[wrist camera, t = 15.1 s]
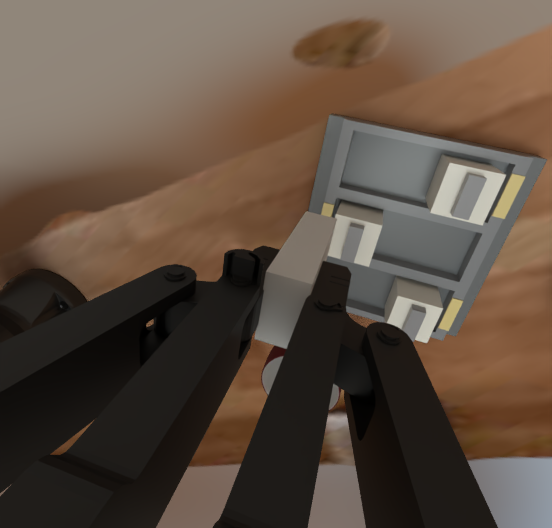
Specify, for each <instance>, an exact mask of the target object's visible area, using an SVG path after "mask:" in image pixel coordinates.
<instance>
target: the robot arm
mask: <svg viewBox="0 0 552 528" xmlns="http://www.w3.org/2000/svg"><path fill="white" fill-rule="evenodd" d="M336 221H337V219H336V218H332V217H328V216H324V215H320V214H316V213H312V212H308V211H306V212H305V214H304V215H303V217H302V218H301V220H300V221H299V223H298V224H297V226H296V227H295V229H294V230H293V232H292V233H291V235H290V236H289V238H288V239H287V241H286V242H285V244H284V245H283V247H282V248H281V250H278V249H275V248H271V247H267V246H261V247H258V248H256V249H254V250H253V251H250V250H244V249H235V250H230V251H228V252H226V253H225V255H224V264H223V274H222V276H221V277H220V279H219V280H218V281H217V282H206V281H196V276H197V275H196V273H195V271H194V270H192V269H191V268H189V267H186V266H183V265H177V264H174V265H166V266H163V267H160V268H158V269H156V270H154V271H152V272H149V273H147V274H145V275H143V276H141V277H139V278H137V279H135V280H133V281H130V282H128V283H126V284H124V285H122V286H120V287H118V288H116V289H114V290H111V291H109V292H107V293H105V294H103V295H101V296H99V297H97V298H94V299H92V300H90V301H88V302H87V301H86V300H85V299H84V297H83V296H82V295H81V294H80V292H79V291H78V290H77V289H76V288H75V287H74V286H73V285H71V284H70V283H69V282H68V281H66V280H65V279H63V278H62V277H60V276H58V275H56V274H54V273H52V272H49V271H46V270H41V269H31V270H28V271H25V272H23V273H21V274H19V275H17V276H15V277H13V278H12V279H10V280H9V281H8V282H7V283H6V284H5V285H4V287H3V289H2V290H1V291H0V493H1V492H2V491H4V490H5V489H6V488H7V487H9V486H10V485H11V484H12V483H13V484H12V485H11V486H10V487H9V488H8V489H7V490H6V491H5V492H4V493H3V494H2V495H1V496H0V528H156V526H157V524H158V523H159V521H160V519H161V517H162V515H163V513H164V511H165V509H166V507H167V505H168V503H169V502H170V500H171V497H172V496H173V494H174V492H175V490H176V488H177V486H178V484H179V482H180V480H181V479H182V477H183V475H184V473H185V471H186V469H187V467H188V465H189V463H190V461H191V460H192V458H193V456H194V454H195V452H196V450H197V448H198V446H199V444H200V442H201V440H202V439H203V437H204V435H205V433H206V431H207V429H208V427H209V425H210V423H211V421H212V419H213V418H214V416H215V414H216V412H217V410H218V408H219V406H220V404H221V402H222V400H223V398H224V397H225V395H226V393H227V391H228V389H229V387H230V385H231V383H232V381H233V379H234V377H235V375H236V374H237V372H238V370H239V368H240V366H241V364H242V362H243V360H244V358H245V356H246V354H247V353H248V351H249V349H250V345H251V339H252V335H253V333H254V332H255V330H256V333H255V339H256V340H260V341H263V342H266V343H269V344H272V345H276V346H279V347H282V348H285V349H286V351H285V354H284V356H283V359H282V361H281V364H280V366H279V369H278V372H277V374H276V377H275V379H274V382H273V384H272V387H271V390H270V392H269V395H268V397H267V400H266V402H265V405H264V408H263V410H262V413H261V415H260V418H259V420H258V423H257V426H256V428H255V431H254V433H253V436H252V438H251V441H250V444H249V446H248V449H247V451H246V454H245V456H244V459H243V462H242V464H241V467H240V469H239V472H238V475H237V477H236V480H235V482H234V485H233V487H232V490H231V493H230V495H229V498H228V500H227V503H226V506H225V508H224V510H223V513H222V515H221V517H220V519H219V520H218V521H217V522H216V523H215V525H214V526H213V528H307V527H308V521H309V516H310V510H311V505H312V500H313V494H314V489H315V482H316V478H317V472H318V466H319V461H320V455H321V450H322V444H323V439H324V433H325V428H326V422H327V417H328V411H329V406H330V400H331V395H332V389H333V384H335V385H336V386H338V387H340V388H341V389H343V390H345V391H344V400H345V406H346V412H347V418H348V424H349V430H350V436H351V441H352V447H353V453H354V459H355V465H356V471H357V477H358V482H359V488H360V494H361V500H362V506H363V512H364V518H365V524H366V528H498V527H497V525H496V522H495V520H494V518H493V516H492V514H491V512H490V509H489V507H488V505H487V503H486V501H485V498H484V496H483V494H482V492H481V490H480V488H479V485H478V483H477V481H476V479H475V477H474V475H473V473H472V470H471V469H470V466H469V464H468V462H467V459H466V457H465V455H464V453H463V451H462V449H461V446H460V444H459V442H458V440H457V438H456V436H455V433H454V431H453V429H452V427H451V425H450V423H449V420H448V418H447V416H446V414H445V412H444V410H443V407H442V405H441V403H440V401H439V399H438V396H437V394H436V392H435V390H434V388H433V386H432V383H431V381H430V379H429V377H428V375H427V373H426V370H425V368H424V366H423V364H422V362H421V360H420V357H419V355H418V353H417V351H416V349H415V347H414V344H413V342H412V340H411V339H410V337H409V336H408V334H407V333H405V332H404V331H403V330H401V329H400V328H398V327H397V326H394V325H392V324H388V323H384V322H375V323H372V324H370V325H369V326H368V327H367V328H365V327H363V326H361V325H360V324H358V323H356V322H355V321H354V320H352V319H351V318H350V317H349V315H348V314H347V312H346V311H347V310H346V302H347V297H348V291H349V286H350V280H351V275H352V274H351V272H350V271H349V269H348V267H345V266H342V265H338V264H334V263H330V262H327V261H326V260H327V256H328V252H329V248H330V245H331V241H332V237H333V233H334V229H335V225H336ZM152 319H154V324H152V325H151V326H149V327H146V324H147V323H148V322H149V321H150V320H152ZM93 420H94V421H93ZM92 421H93V423H92V424H91V425H90V426H89V427H88V428H87V429H86V431H85V432H84V433H83V434H82V435H81V436H80V437H79V438H78V440H77V441H76V442H75V443H74V444H73V445H72V446H71V447H70V448H69V449H68V450H67V451H66V452H65V453H63V454H61V455H50V454H51V453H52V452H54V451H55V450H56V449H57V448H59V447H60V446H61V445H63V444H64V443H65V442H66V441H68V440H69V439H70V438H72V437H73V436H74V435H75V434H77V433H78V432H79V431H80V430H82V429H83V428H84V427H86V426H87V425H88V424H89V423H91V422H92Z"/></svg>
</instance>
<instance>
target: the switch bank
mask: <svg viewBox="0 0 552 528" xmlns="http://www.w3.org/2000/svg"><path fill="white" fill-rule="evenodd" d="M442 154H446V155H451V156H455V157H460V158H465V159H469V160H474V161H479V162H484V163H488V164H492V165H493V166H494V167H496V168H497V169H499V170H500V171H501V172H503V173H504V174H506V177H505V179H504V181H503V183H502V185H501V187H500V190H499V192H498V194H497V196H496V198H495V200H494V202H493V204H492V206H491V209H490V211H489V213H488V215H487V217H486V219H485V221H484V223H483V226H482V225H478V224H474V223H470V222H466V221H462V220H458V219H453V218H449V217H445V216H441V215H437V214H433V213H430V211H429V208H428V205H427V202H426V199H425V198H426V195H427V192H428V190H429V187H430V184H431V182H432V179H433V176H434V174H435V171H436V168H437V166H438V163H439V160H440V158H441V155H442ZM546 161H547V159H545V158H542V157H540V156H537V155H532V154H527V153H522V152H517V151H513V150H508V149H503V148H498V147H493V146H488V145H483V144H479V143H474V142H469V141H464V140H459V139H454V138H449V137H444V136H440V135H435V134H430V133H425V132H420V131H415V130H410V129H405V128H401V127H396V126H391V125H386V124H381V123H376V122H371V121H367V120H362V119H357V118H352V117H347V116H342V115H337V114H330V115H329V119H328V123H327V128H326V132H325V137H324V141H323V146H322V150H321V155H320V160H319V164H318V169H317V173H316V178H315V182H314V187H313V191H312V196H311V200H310V205H309V209H308V212H312V213H316V214H320V215H324V216H328V217H332V218H335V216H336V213H337V210H338V208H339V206H340V204H341V201H342V200H343V201H347V202H352V203H356V204H360V205H364V206H368V207H372V208H376V209H380V210H383V225H382V229H381V232H380V235H379V238H378V241H377V244H376V247H375V250H374V253H373V256H372V259H371V262H370V265H369V267H367V266H364V265H360V264H356V263H350V262H347V261H343V260H340V259H338V258H335V257H331V256H327V260H326V261H327V262H330V263H334V264H338V265H342V266H345V267H348V269H349V271H350V272H351V274H352V275H351V280H350V286H349V291H348V297H347V302H346V310H347V311H346V312H349V313H352V314H355V315H359V316H362V317H365V318H369V319H372V320H375V321H379V322H384V315H385V304H386V301H387V299H388V296H389V293H390V291H391V288H392V285H393V283H394V280H395V277H396V275H398V276H402V277H405V278H409V279H413V280H416V281H420V282H423V283H427V284H431V285H434V286H438V290H439V294H440V298H441V302H442V306H443V310H442V312H441V314H440V317H439V319H438V321H437V323H436V325H435V327H434V329H433V331H432V333H431V336H430V337H432V338H435V339H439V340H442V341H443V339H444V337H445V335H446V334H449V335H452V336H456V335H457V333H458V331H459V329H460V327H461V325H462V323H463V321H464V319H465V318H466V316H467V314H468V312H469V310H470V308H471V306H472V304H473V302H474V300H475V298H476V296H477V294H478V292H479V290H480V289H481V287H482V285H483V283H484V281H485V279H486V277H487V275H488V273H489V271H490V269H491V267H492V265H493V263H494V261H495V259H496V258H497V256H498V254H499V252H500V250H501V248H502V246H503V244H504V242H505V240H506V238H507V236H508V234H509V232H510V230H511V229H512V227H513V225H514V223H515V221H516V219H517V217H518V215H519V213H520V211H521V209H522V207H523V205H524V203H525V201H526V200H527V198H528V196H529V194H530V192H531V190H532V188H533V186H534V184H535V182H536V180H537V178H538V176H539V174H540V172H541V170H542V169H543V167H544V165H545V163H546Z"/></svg>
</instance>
